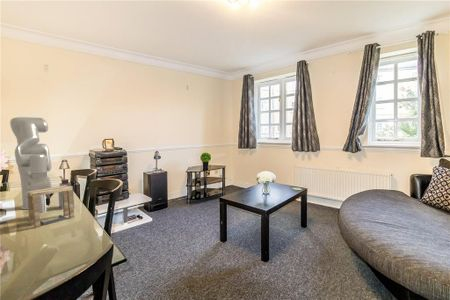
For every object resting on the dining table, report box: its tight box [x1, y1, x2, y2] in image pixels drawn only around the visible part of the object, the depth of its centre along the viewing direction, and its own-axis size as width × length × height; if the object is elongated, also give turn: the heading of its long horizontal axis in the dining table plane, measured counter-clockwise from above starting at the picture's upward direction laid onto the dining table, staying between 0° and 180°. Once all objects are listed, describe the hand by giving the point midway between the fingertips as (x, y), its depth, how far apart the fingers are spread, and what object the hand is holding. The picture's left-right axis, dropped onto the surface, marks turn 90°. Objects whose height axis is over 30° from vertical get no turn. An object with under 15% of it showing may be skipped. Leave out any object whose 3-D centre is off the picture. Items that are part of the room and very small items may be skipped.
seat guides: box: [40, 214, 67, 226], centre depth 131 cm, size 8×11×2 cm
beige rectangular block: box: [57, 178, 75, 210], centre depth 157 cm, size 7×7×18 cm
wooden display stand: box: [27, 185, 75, 229], centre depth 130 cm, size 9×18×18 cm, turn 145°
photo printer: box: [38, 195, 47, 214], centre depth 139 cm, size 10×4×12 cm, turn 36°
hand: (41, 206), depth 139 cm, fingers closed on photo printer, 5 cm apart
